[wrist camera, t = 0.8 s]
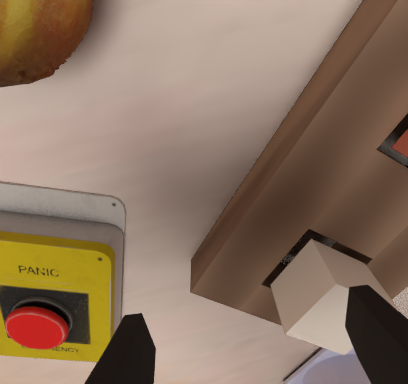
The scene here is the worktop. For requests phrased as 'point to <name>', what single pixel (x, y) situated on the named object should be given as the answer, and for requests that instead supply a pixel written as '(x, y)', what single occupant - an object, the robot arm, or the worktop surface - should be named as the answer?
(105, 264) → the emergency button
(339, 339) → the off-white plunger
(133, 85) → the worktop surface
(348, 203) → the walnut plunger housing
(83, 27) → the fruit
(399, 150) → the salmon red square block
